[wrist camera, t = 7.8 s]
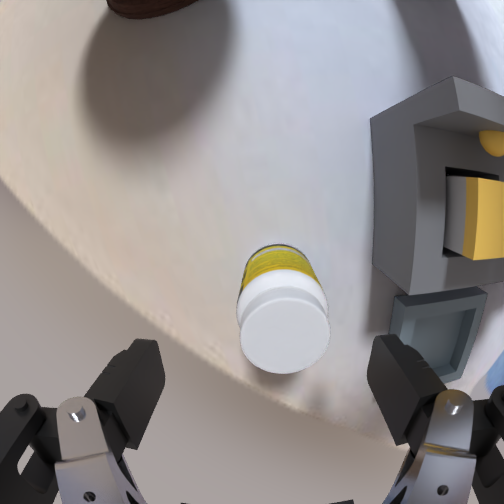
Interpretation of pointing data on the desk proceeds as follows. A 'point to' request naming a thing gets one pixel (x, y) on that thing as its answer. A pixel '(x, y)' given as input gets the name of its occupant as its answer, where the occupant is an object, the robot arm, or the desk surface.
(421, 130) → the box
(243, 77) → the desk surface
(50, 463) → the robot arm
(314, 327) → the supplement bottle
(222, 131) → the desk surface
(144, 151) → the desk surface
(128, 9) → the spherical smart speaker
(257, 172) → the desk surface
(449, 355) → the square tray
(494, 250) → the block
